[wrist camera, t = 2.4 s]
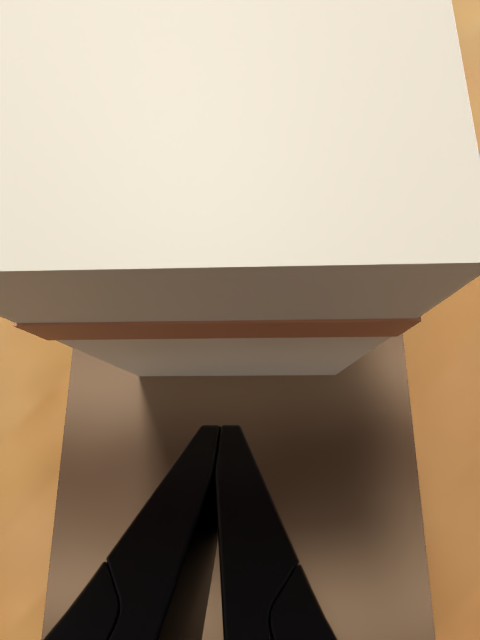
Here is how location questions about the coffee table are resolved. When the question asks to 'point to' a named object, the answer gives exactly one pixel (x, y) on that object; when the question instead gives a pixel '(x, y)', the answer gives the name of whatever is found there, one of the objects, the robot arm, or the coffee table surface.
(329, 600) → the plate
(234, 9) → the card box
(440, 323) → the coffee table surface
